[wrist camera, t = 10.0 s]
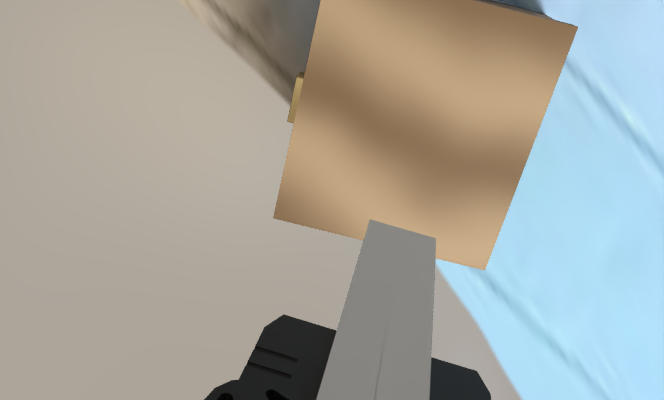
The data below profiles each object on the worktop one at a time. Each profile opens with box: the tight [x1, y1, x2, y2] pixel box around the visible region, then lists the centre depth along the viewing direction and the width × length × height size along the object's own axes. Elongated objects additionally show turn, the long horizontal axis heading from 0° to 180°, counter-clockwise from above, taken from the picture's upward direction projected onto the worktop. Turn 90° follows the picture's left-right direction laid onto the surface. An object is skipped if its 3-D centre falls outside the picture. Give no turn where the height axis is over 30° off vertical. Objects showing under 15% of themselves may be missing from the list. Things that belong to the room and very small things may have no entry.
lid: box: [273, 0, 578, 270], centre depth 27 cm, size 11×10×1 cm
